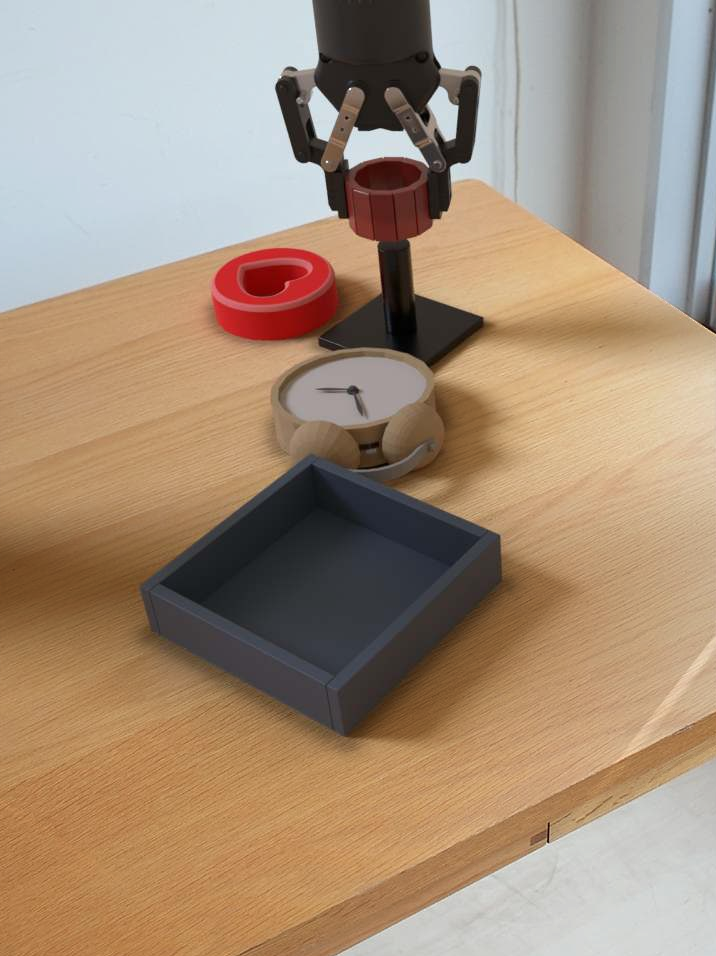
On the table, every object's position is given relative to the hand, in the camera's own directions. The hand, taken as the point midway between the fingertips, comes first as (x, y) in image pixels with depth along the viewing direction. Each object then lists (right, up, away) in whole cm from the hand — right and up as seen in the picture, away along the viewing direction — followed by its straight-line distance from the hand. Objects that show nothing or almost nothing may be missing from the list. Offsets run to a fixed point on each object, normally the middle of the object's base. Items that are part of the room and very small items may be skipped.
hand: (391, 213), depth 94 cm
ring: (0, -1, 0) cm, 1 cm away
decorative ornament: (-10, -6, +10) cm, 15 cm away
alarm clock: (-2, -17, -4) cm, 17 cm away
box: (-2, -27, -17) cm, 32 cm away
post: (0, -8, +7) cm, 10 cm away
